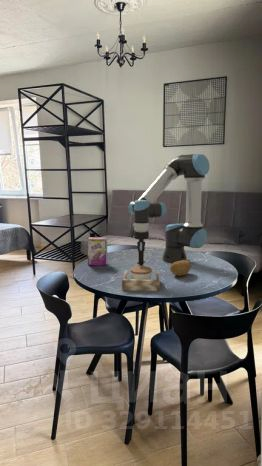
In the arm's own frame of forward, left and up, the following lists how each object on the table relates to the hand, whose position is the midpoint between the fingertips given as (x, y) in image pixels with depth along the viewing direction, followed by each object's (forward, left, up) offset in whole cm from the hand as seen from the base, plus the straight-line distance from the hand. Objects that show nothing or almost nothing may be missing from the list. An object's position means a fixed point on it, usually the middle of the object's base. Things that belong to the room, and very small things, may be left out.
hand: (141, 275), depth 166 cm
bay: (0, +10, -2) cm, 10 cm away
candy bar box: (+27, -25, -2) cm, 37 cm away
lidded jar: (0, +8, -2) cm, 8 cm away
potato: (-21, -7, -2) cm, 23 cm away
